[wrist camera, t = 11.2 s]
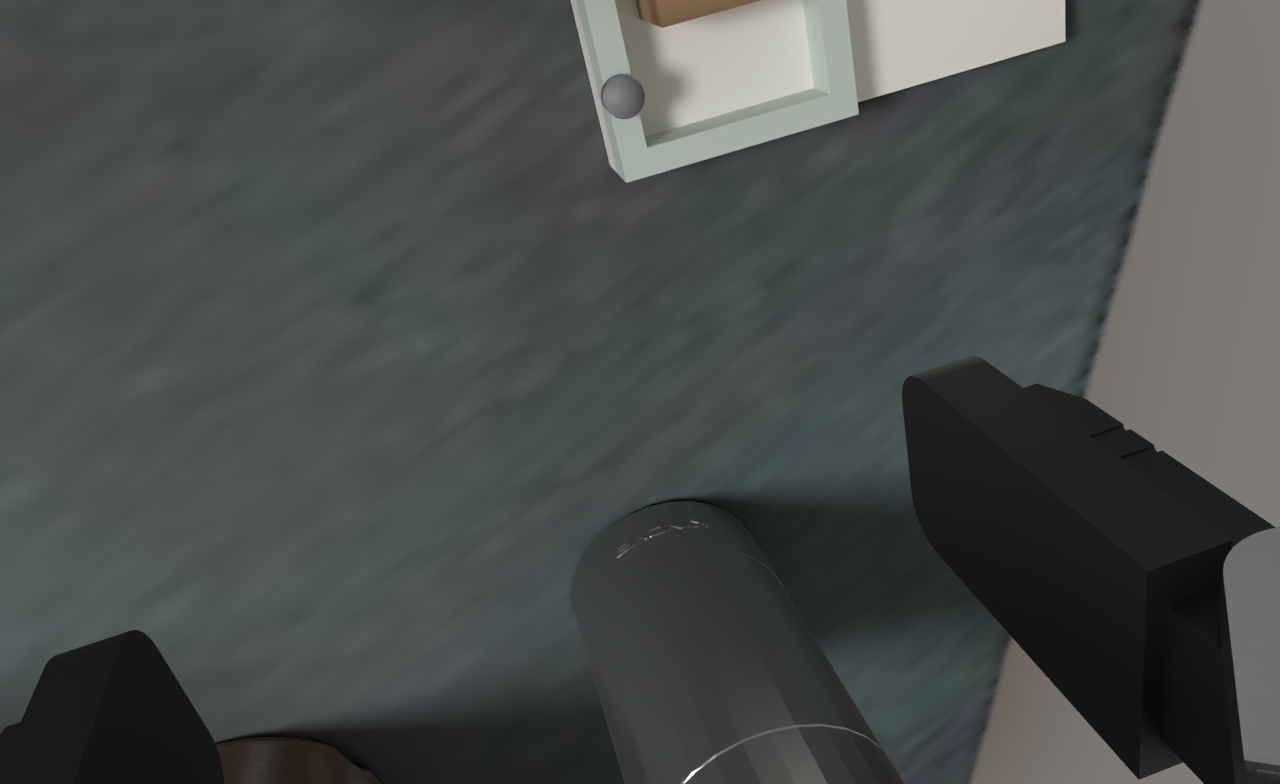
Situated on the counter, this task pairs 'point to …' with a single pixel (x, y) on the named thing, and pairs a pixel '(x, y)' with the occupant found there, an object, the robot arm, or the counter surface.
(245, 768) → the plant pot
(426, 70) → the counter surface
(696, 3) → the frame
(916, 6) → the wall panel
